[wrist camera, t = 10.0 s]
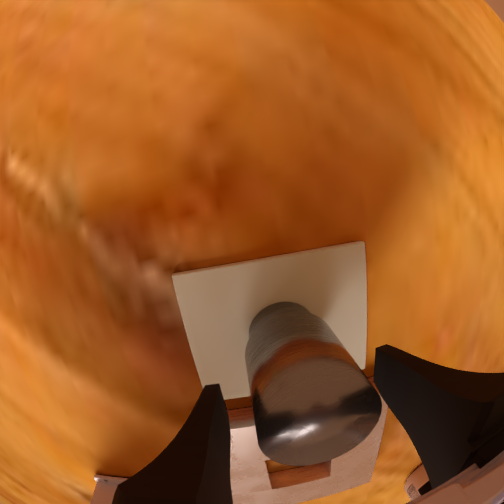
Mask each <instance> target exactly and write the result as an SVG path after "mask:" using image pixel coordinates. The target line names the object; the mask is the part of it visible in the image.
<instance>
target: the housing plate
mask: <svg viewBox="0 0 504 504" xmlns="http://www.w3.org/2000/svg"><path fill="white" fill-rule="evenodd" d="M373 379H374V376H373V377H370V378H368V380H369V381H370V382H371V384H372V385H373V386H374V388H375V389H376V391H377V392H378V394H379V395H380V393H379V391H378V390H377V388H376V386H375V384H374V382H373ZM380 397H381V395H380ZM381 400H382V411H381V416H380V418H379V421H378V423H377V424H376V426H375V428H374V429H373V430H372V432H371V433H370V434H369V435H368V436H367V437H366V438H365V439H364V440H363V441H362V442H361V443H360V444H359V445H357V446H356V447H355V448H353V449H352V450H350V451H348V452H347V453H345V454H343V455H341V456H339V457H337V458H334V459H332V460H329V461H326V462H323V463H319V464H314V465H307V466H303V467H298V468H294V469H289V470H284V471H279V472H274V473H269V472H268V468H267V464H266V460H271V459H269V458H268V457H266V456H265V455H264V454H263V452H262V451H261V450H260V448H259V445H258V440H257V434H256V428H255V421H254V415H253V409H252V407H246V408H240V409H233V410H227V412H228V415H229V423H230V432H231V449H230V481H231V490H232V498H233V504H296V503H300V502H305V501H309V500H313V499H317V498H321V497H325V496H328V495H332V494H335V493H338V492H342V491H345V490H348V489H351V488H354V487H357V486H360V485H363V484H365V483H368V482H370V480H371V477H372V473H373V470H374V466H375V462H376V459H377V455H378V451H379V447H380V443H381V438H382V434H383V429H384V425H385V420H386V415H387V409H388V405H387V404H386V403H385V401H384V400H383V398H382V397H381Z"/></svg>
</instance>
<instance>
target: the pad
mask: <svg viewBox="0 0 504 504" xmlns="http://www.w3.org/2000/svg"><path fill="white" fill-rule="evenodd" d="M172 280H173V284H174V288H175V292H176V297H177V300H178V304H179V308H180V312H181V316H182V320H183V323H184V327H185V331H186V334H187V338H188V341H189V345H190V348H191V352H192V355H193V359H194V362H195V365H196V368H197V372H198V375H199V378H200V381H201V384H202V387H203V388H204V386H205V385H210V384H218V383H219V384H220V388H221V391H222V395H223V398H224V400H227V399H234V398H241V397H247V396H250V389H249V383H248V376H247V369H246V362H245V349H246V345H247V342H248V340H249V328H250V325H251V322H252V320H253V319H254V317H255V316H256V315H257V314H258V313H259V312H260V311H261V310H262V309H264V308H265V307H267V306H269V305H271V304H274V303H277V302H286V301H288V302H294V303H298V304H300V305H302V306H304V307H305V308H306V309H307V310H308V311H309V312H310V313H311V314H314V315H316V316H318V317H320V318H321V319H322V320H324V321H325V322H326V323H327V324H328V325H329V327H330V328H331V329H332V331H333V332H334V333H335V335H336V336H337V338H338V339H339V340H340V342H341V343H342V344H343V346H344V347H345V348H346V350H347V351H348V352H349V354H350V355H351V356H352V358H353V359H354V360H355V362H356V363H357V365H358V366H359V367H360V369H361V370H362V369H365V363H366V339H367V277H366V253H365V242H363V241H356V242H350V243H345V244H339V245H334V246H328V247H322V248H317V249H311V250H306V251H300V252H294V253H289V254H283V255H277V256H272V257H266V258H260V259H254V260H249V261H243V262H237V263H231V264H225V265H220V266H214V267H208V268H202V269H196V270H190V271H184V272H178V273H173V274H172Z"/></svg>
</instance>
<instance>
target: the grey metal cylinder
mask: <svg viewBox="0 0 504 504" xmlns="http://www.w3.org/2000/svg"><path fill="white" fill-rule="evenodd" d="M245 362H246V369H247V376H248V383H249V389H250V396H251V402H252V409H253V415H254V421H255V428H256V434H257V440H258V445H259V448H260V450H261V451H262V452H263V454H264V455H265V456H266V457H268V458H269V459H271V460H273V461H275V462H278V463H281V464H285V465H292V466H306V465H314V464H319V463H323V462H326V461H329V460H332V459H334V458H337V457H339V456H341V455H343V454H345V453H347V452H348V451H350V450H352V449H353V448H355V447H356V446H357V445H359V444H360V443H361V442H362V441H363V440H364V439H365V438H366V437H367V436H368V435H369V434H370V433H371V432H372V430H373V429H374V428H375V426H376V424H377V423H378V421H379V418H380V416H381V411H382V400H381V397H380V395H379V394H378V392H377V391H376V389H375V388H374V386H373V385H372V384H371V382H370V381H369V380H368V378H367V377H366V375H365V374H364V373H363V371H362V370H361V369H360V367H359V366H358V365H357V363H356V362H355V360H354V359H353V358H352V356H351V355H350V354H349V352H348V351H347V350H346V348H345V347H344V346H343V344H342V343H341V342H340V340H339V339H338V338H337V336H336V335H335V333H334V332H333V331H332V329H331V328H330V327H329V325H328V324H327V323H326V322H325V321H324V320H322V319H321V318H320V317H318V316H316V315H314V314H311V313H310V312H309V311H308V310H307V309H306V308H305V307H304V306H302V305H300V304H298V303H294V302H288V301H286V302H277V303H274V304H271V305H269V306H267V307H265V308H264V309H262V310H261V311H260V312H259V313H258V314H257V315H256V316H255V317H254V319H253V320H252V322H251V325H250V328H249V340H248V342H247V345H246V349H245Z"/></svg>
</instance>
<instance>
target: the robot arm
mask: <svg viewBox="0 0 504 504" xmlns="http://www.w3.org/2000/svg"><path fill="white" fill-rule="evenodd" d="M373 382H374V384H375V386H376V388H377V390H378V391H379V393H380V395H381V397H382V398H383V400H384V401H385V403H386V404H387V405H388V407H389V408H390V409H391V411H392V412H393V413H394V415H395V416H396V418H397V419H398V420H399V422H400V423H401V424H402V426H403V427H404V429H405V430H406V432H407V433H408V435H409V437H410V439H411V440H412V442H413V444H414V446H415V448H416V450H417V452H418V454H419V456H420V459H421V461H422V463H423V465H424V468H425V470H426V473H427V475H428V478H429V481H430V484H431V487H432V490H431V491H429V492H428V493H426V494H424V495H422V496H420V497H418V498H416V499H414V500H412V501H410V502H408V503H406V504H500V503H501V502H502V501H503V500H504V373H477V372H469V371H462V370H457V369H452V368H448V367H444V366H441V365H438V364H435V363H432V362H429V361H426V360H424V359H421V358H419V357H416V356H414V355H411V354H409V353H407V352H404V351H402V350H400V349H398V348H395V347H393V346H390V345H387V344H386V345H383V346H380V347H377V348H376V353H375V367H374V379H373ZM230 449H231V432H230V423H229V415H228V412H227V408H226V405H225V402H224V398H223V395H222V391H221V388H220V384H219V383H218V384H210V385H205V386H204V388H203V390H202V392H201V395H200V397H199V399H198V401H197V403H196V405H195V407H194V408H193V410H192V412H191V414H190V416H189V417H188V419H187V421H186V422H185V424H184V425H183V427H182V428H181V430H180V431H179V432H178V434H177V435H176V437H175V438H174V439H173V440H172V441H171V443H170V444H169V445H168V446H167V447H166V448H165V449H164V450H163V451H162V452H161V454H160V455H159V456H158V457H156V458H155V459H154V460H153V461H152V462H151V463H150V464H148V465H147V466H146V467H145V468H143V469H142V470H141V471H139V472H138V473H137V474H135V475H133V476H132V477H130V478H119V477H110V476H102V475H94V479H95V480H96V481H97V484H96V487H95V490H94V494H93V497H92V500H91V504H233V498H232V490H231V481H230Z"/></svg>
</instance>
